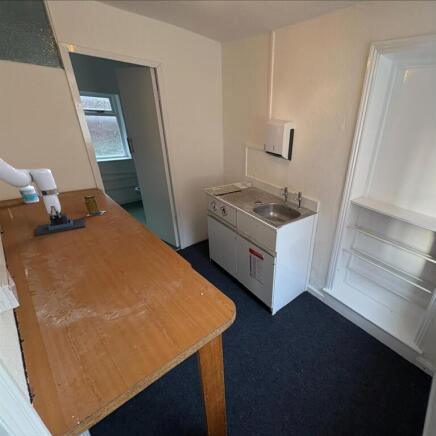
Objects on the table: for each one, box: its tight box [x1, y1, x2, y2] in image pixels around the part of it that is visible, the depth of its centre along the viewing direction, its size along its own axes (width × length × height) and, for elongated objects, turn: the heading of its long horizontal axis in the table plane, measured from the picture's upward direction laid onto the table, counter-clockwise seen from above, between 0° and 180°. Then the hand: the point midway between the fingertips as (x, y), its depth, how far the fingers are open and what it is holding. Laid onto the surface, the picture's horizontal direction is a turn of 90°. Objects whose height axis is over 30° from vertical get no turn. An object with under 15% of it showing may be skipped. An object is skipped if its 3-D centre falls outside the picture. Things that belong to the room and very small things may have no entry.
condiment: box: [83, 194, 106, 217], centre depth 149 cm, size 7×8×12 cm
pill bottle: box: [18, 183, 40, 204], centre depth 163 cm, size 8×7×14 cm
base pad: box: [34, 217, 86, 237], centre depth 132 cm, size 20×14×3 cm
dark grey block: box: [49, 213, 69, 226], centre depth 130 cm, size 6×5×4 cm
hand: (60, 222), depth 131 cm, fingers closed on dark grey block, 5 cm apart
